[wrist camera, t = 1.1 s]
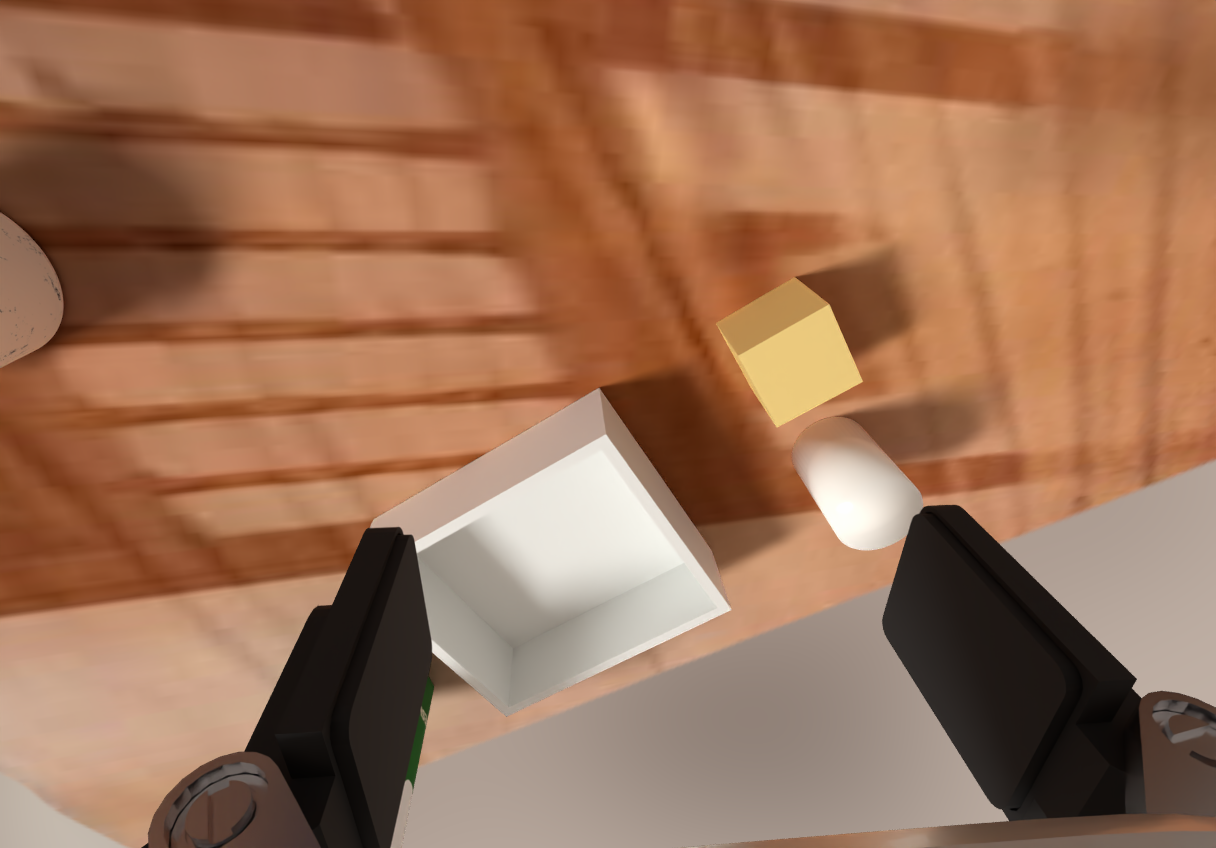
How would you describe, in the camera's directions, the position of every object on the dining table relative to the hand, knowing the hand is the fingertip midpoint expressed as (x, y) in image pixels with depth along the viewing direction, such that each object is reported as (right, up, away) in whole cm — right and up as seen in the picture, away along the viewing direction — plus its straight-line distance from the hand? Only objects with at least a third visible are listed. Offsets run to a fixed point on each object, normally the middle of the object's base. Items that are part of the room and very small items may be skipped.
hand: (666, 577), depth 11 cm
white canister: (+13, +1, +29) cm, 32 cm away
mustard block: (+9, +8, +24) cm, 27 cm away
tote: (-5, -5, +30) cm, 31 cm away
